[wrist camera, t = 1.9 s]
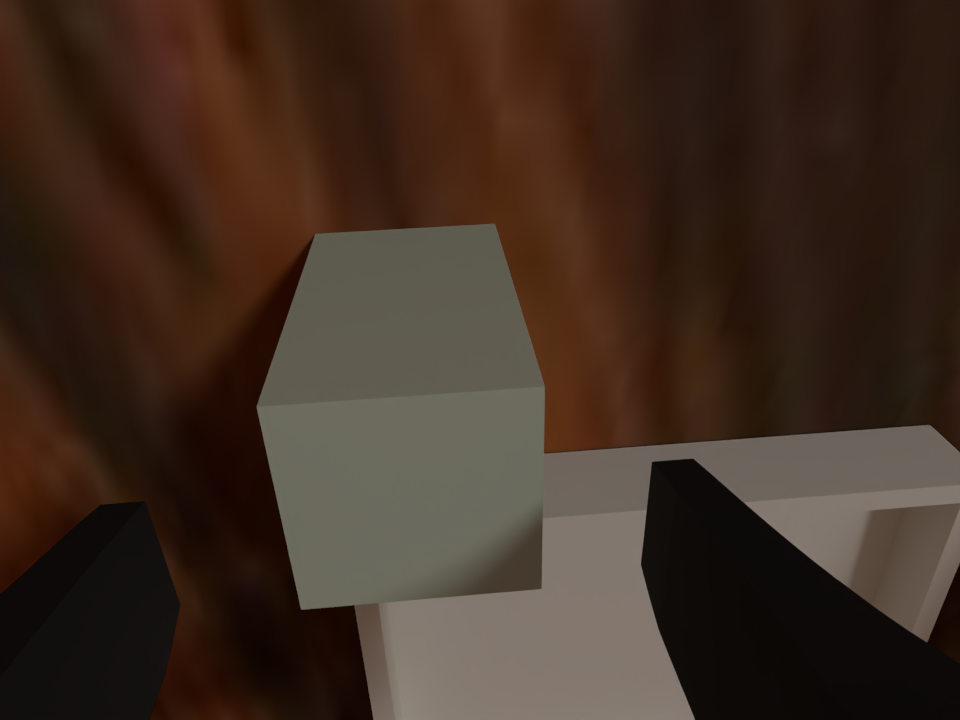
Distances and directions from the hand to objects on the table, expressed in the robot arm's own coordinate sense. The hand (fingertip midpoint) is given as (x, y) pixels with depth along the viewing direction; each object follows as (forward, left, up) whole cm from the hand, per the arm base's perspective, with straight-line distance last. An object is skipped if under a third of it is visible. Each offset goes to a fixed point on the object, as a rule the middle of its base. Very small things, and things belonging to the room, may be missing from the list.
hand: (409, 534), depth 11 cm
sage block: (0, 0, -8) cm, 8 cm away
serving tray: (-6, +11, -8) cm, 15 cm away
